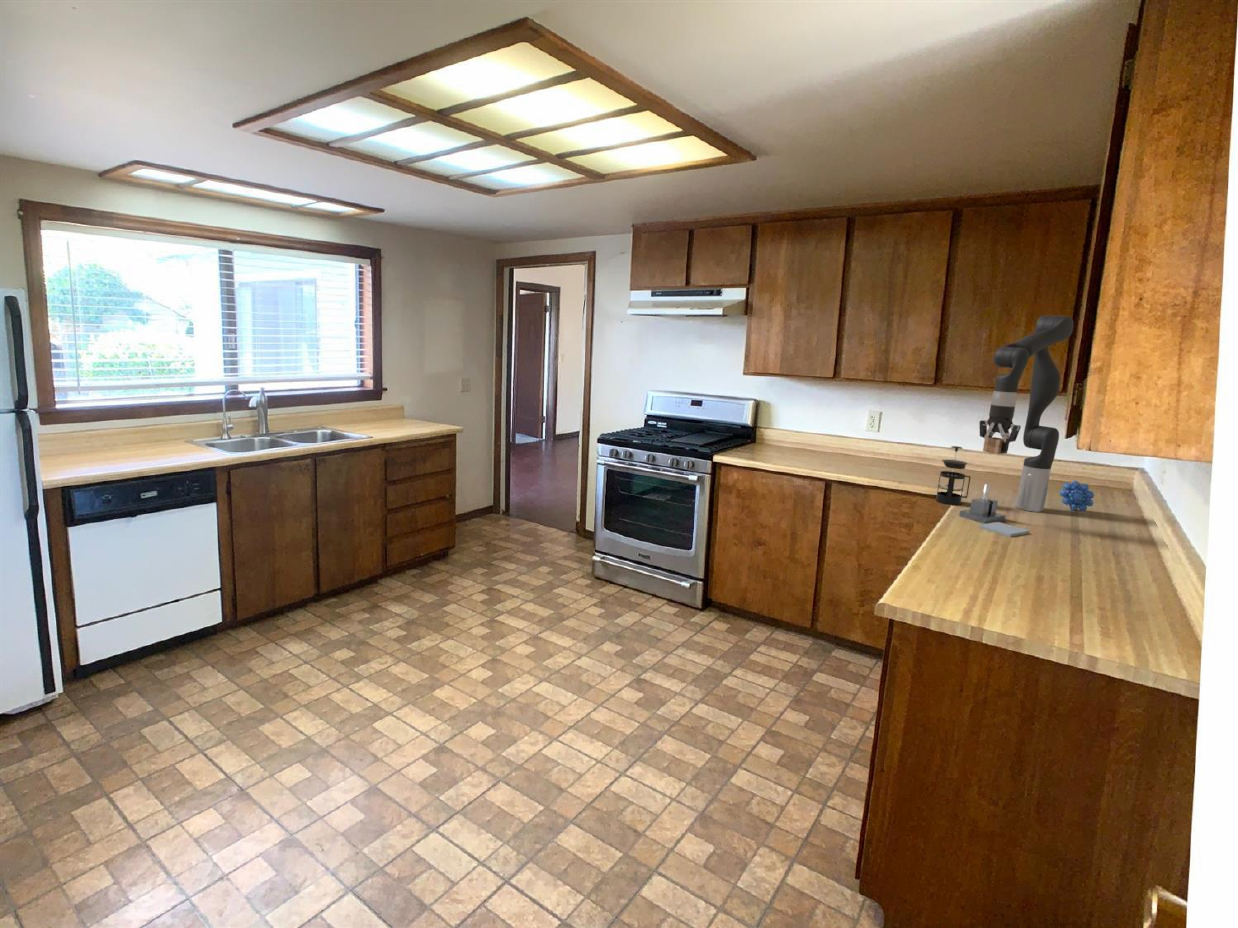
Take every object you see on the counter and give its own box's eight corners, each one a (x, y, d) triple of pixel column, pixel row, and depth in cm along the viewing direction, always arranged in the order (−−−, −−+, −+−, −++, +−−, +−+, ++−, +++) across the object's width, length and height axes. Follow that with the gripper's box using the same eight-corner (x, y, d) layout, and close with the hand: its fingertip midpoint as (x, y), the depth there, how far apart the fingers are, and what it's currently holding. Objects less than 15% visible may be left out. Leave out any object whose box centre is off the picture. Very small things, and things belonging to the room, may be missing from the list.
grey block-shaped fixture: (978, 513, 244) (984, 480, 241) (1004, 520, 235) (1010, 486, 232) (959, 516, 238) (964, 482, 235) (984, 523, 229) (990, 488, 227)
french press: (933, 502, 257) (942, 446, 252) (933, 497, 265) (941, 443, 260) (966, 507, 252) (975, 450, 247) (965, 502, 260) (974, 446, 256)
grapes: (1057, 510, 255) (1063, 480, 253) (1055, 506, 261) (1061, 477, 259) (1093, 515, 250) (1099, 485, 247) (1090, 511, 256) (1096, 482, 253)
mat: (997, 524, 229) (998, 521, 229) (1028, 533, 219) (1029, 530, 219) (978, 527, 224) (979, 524, 224) (1009, 536, 214) (1010, 534, 214)
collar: (992, 450, 234) (994, 437, 233) (1006, 453, 229) (1009, 439, 228) (982, 451, 231) (985, 437, 230) (997, 454, 226) (999, 440, 225)
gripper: (1029, 406, 222) (1021, 454, 225) (990, 402, 235) (982, 447, 238) (1017, 406, 219) (1008, 455, 222) (977, 402, 231) (969, 448, 234)
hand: (994, 450), depth 230 cm, fingers closed on collar, 5 cm apart
